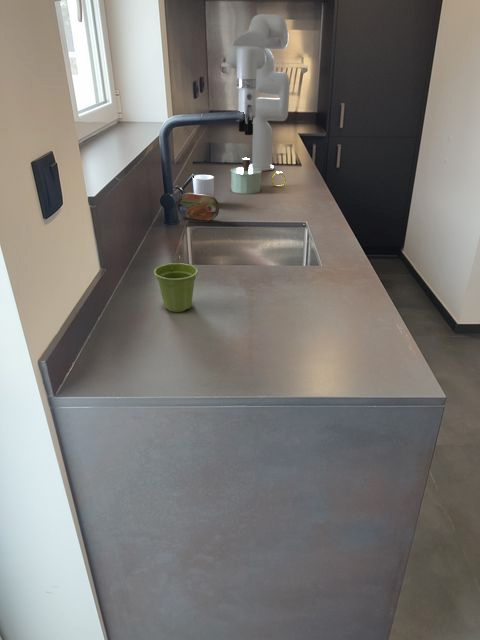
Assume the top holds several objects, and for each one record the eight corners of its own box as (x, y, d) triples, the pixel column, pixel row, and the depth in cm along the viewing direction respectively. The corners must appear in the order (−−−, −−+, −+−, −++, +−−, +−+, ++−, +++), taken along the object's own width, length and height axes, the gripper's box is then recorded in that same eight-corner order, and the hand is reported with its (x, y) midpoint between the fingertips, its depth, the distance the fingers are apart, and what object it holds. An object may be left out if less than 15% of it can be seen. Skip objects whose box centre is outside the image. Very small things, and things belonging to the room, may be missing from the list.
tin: (177, 216, 172) (176, 192, 168) (181, 214, 175) (180, 190, 171) (216, 222, 168) (216, 197, 164) (220, 220, 171) (220, 195, 166)
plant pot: (159, 297, 116) (156, 262, 112) (199, 297, 117) (198, 262, 113) (155, 316, 108) (151, 279, 104) (198, 315, 109) (197, 279, 105)
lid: (227, 170, 208) (227, 156, 205) (256, 169, 212) (257, 155, 209) (234, 177, 198) (234, 162, 195) (265, 176, 201) (265, 161, 198)
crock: (228, 187, 212) (228, 169, 208) (255, 186, 215) (256, 168, 211) (234, 194, 202) (235, 175, 198) (263, 193, 205) (263, 174, 201)
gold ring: (271, 187, 215) (272, 172, 212) (271, 185, 217) (271, 171, 214) (285, 187, 215) (286, 172, 212) (284, 185, 218) (285, 171, 215)
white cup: (218, 203, 189) (217, 176, 184) (207, 208, 183) (207, 180, 178) (200, 200, 192) (199, 173, 187) (189, 205, 186) (188, 177, 181)
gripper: (262, 86, 183) (260, 136, 191) (250, 83, 197) (249, 130, 206) (242, 85, 181) (241, 136, 189) (231, 83, 195) (231, 130, 204)
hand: (245, 133), depth 198 cm, fingers open, 9 cm apart
